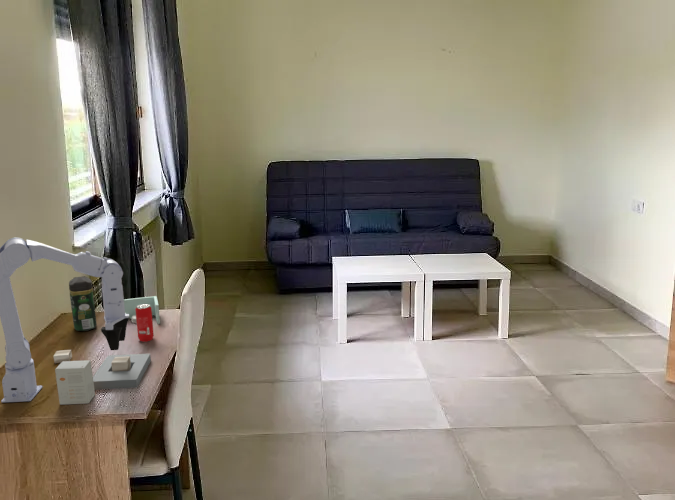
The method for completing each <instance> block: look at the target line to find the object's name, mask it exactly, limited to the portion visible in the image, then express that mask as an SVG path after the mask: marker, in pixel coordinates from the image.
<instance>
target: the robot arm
mask: <svg viewBox="0 0 675 500" xmlns="http://www.w3.org/2000/svg"><path fill="white" fill-rule="evenodd" d="M41 259H44V260H49V261H53V262H56V263H57V262H58V263H61V264H65V265H69V266H71V267H72V269H73V270H74V271H75V272H77V273H81V274H83V275H88V276H90V277H93V278H101V284H102V285H101V292H102V302H103V312H104V316H103V319H104V320H103V321H104V322H105V323H104V326H102V327H101V328H100V332H101V333H102V334H103V335H104V338H105V339H106V342H107V344H108V347H109V350H110V351H118V350H119V348H120V342H124V341H125V340H126V335H127V334H126V333H127V327H128V323H129V320H130V319H131V318H130V317H129V314H125V308H124V298H125V297H124V288H123V287H124V286H123V283H122V280H123V279H122V278H123V275H124V271H123V269H122V267H121V265H120V264H119V263H118V262H117V261H115V260H114V259H112V258H108V257H106V256H103V257H99V256H97V255H93V254H92V252H90V251H88V250H86V251H85V252H84V251H80V252H77V253H72V252H68V251H67V250H66V251H65V250H63V249H59V248H57V247H54V246H51V245H48V244H45V243H43V242H38V241H36V240H32V239H26V240H25V239H24V238H21V237H17V236H16V237H12V238H9V239H7V240H6V242H4V243H3V244H2V245H1V246H0V322H1V326H2V330H3V334H4V340H5V347H4V349H5V364H4V367H5V374H4V376H3V378H2V381H1V384H2V392H3V398H2V399H1V403H20V402H23V403H24V402H31V401H32V400H33V399H34V398H35V397H36V396H37V395H38V393H39V392H40V391H41V390H42V389H43V385H37V378H36V369H35V363H34V361H35V360H34V359H33V358H32V353H31V350H30V347H31V346H30V342H29V341H28V340H27V339H26V338H25V336H24V335H25V334H24V331H23V328H22V326H21V325H22V324H21V320H20V316H19V312H18V307H17V303H16V297H15V295H14V291H13V286H12V283H11V278H10V277H11V276H12V275H13V274H14V273H15V272H16V270H17V269H19V268H20V267H23V266H25V264H27V263H28V262H29V260H31V262H36V261H38V260H41ZM129 318H130V319H129Z"/></svg>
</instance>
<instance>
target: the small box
mask: <svg viewBox="0 0 675 500" xmlns="http://www.w3.org/2000/svg"><path fill="white" fill-rule="evenodd" d="M54 372H55V381H56V387H57V394H58V400H59V405H63V406H65V405H80V404H83V405H84V404H85V405H86V404H90V402H91V401H92V400H93V398H94V396H95V395H96V392H95V391H96V390H94V382H93V376H94V375H93V367H92V361H91V359H89V360H85V359H84V360H70V361H63V362H61V363H59V364H58V366H57V367H56V368H55V369H54Z"/></svg>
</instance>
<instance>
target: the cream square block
mask: <svg viewBox="0 0 675 500" xmlns="http://www.w3.org/2000/svg"><path fill="white" fill-rule="evenodd" d="M111 364H112V371H130V370H131V362H130V356H126V357H115V358H114V359H113V361H112V362H111Z"/></svg>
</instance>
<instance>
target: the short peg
mask: <svg viewBox="0 0 675 500" xmlns="http://www.w3.org/2000/svg"><path fill="white" fill-rule="evenodd" d="M72 358H73V354H72V349H64V350H63V349H62V350H56V351H55V353H54V355H53V361H54V364H61V362H63V361H71V359H72Z"/></svg>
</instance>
